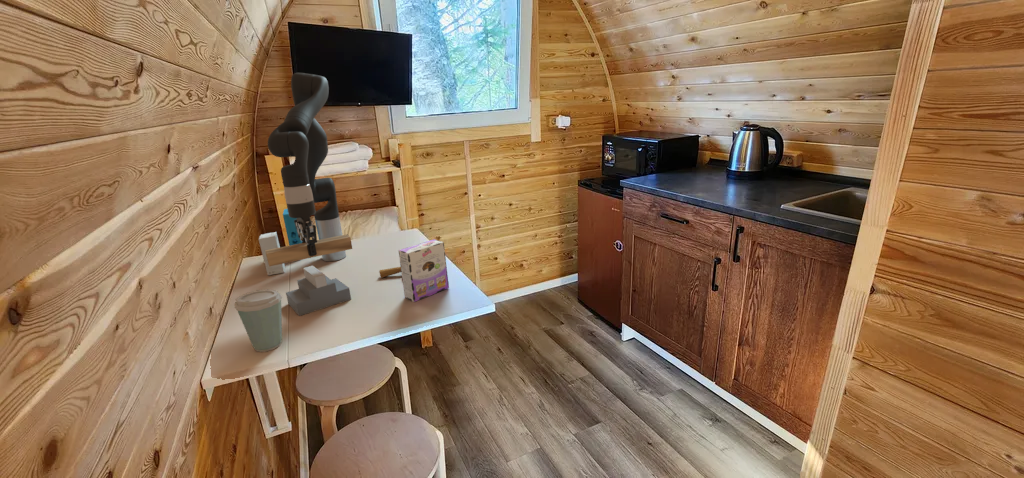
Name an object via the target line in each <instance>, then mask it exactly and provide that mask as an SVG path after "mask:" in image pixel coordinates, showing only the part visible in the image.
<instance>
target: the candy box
mask: <svg viewBox="0 0 1024 478" xmlns="http://www.w3.org/2000/svg"><path fill="white" fill-rule="evenodd" d="M398 257H399V263H400V267H401V272H400V273H401V278H402V286H403V293H404V298H406V299H407V300H410V301H411V302H413V303H415V302H417V301H420V300H422V299H425V298H428V297H430V296H432V295H436V294H437V293H440V292H442V291H445V290H447V289H449V288H450V285H449V284H450V283H449V275H448V269H447V259H446V251H445V243H444V241H441V240H437V239H431V240H428V241H424V242H421V243H418V244H414V245H411V246H408V247H405V248H401V249H398Z"/></svg>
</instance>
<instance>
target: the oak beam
mask: <svg viewBox="0 0 1024 478" xmlns="http://www.w3.org/2000/svg"><path fill="white" fill-rule="evenodd" d="M315 247H316V252H317V255H315V256H309V254H308V249H307V244H306V243H300V244H295V245H290V246H289V245H287V246H285V245H284V246H280V248H275V249H270V250H265V252H266V256H267V260H268V264H269V266H274V265H279V264H283V263H284V264H287V263H293V262H297V261H301V260H306V259H311V258H315V257H320V256H321V257H322V255H326V254H330V253H335V252H340V251H345V252H346V251H348V250H353V245H352V239H351V236H350V235H349V234H342V235H341V236H336V237H331V238H326V239H321V240H319V239H317V242H316V243H315Z"/></svg>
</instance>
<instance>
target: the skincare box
mask: <svg viewBox="0 0 1024 478" xmlns="http://www.w3.org/2000/svg"><path fill="white" fill-rule="evenodd" d="M258 243H259V247H260V251H261V255H262V258H263V262H264V267H265V270H266V274H267V276H272V275H279V274H283V273H285V268H286V266H285V265H286V264H285V263H283V264H279V265H274V266H269V264H268V260H267V256H266V252H265V250H270V249H275V248H280V247H281V246H280V245H281V244H280V241H279V237H278V233H277V231H275V232H274V231H273V232H267V233H262V234H260V235H259V237H258Z"/></svg>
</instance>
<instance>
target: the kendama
mask: <svg viewBox="0 0 1024 478" xmlns="http://www.w3.org/2000/svg"><path fill="white" fill-rule="evenodd" d="M378 273H379V276H380V279H384V278H386V277H389V276H394V275H396V274H399V273H402V272H401V266H397V267H391V268H386V269H379V271H378Z"/></svg>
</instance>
